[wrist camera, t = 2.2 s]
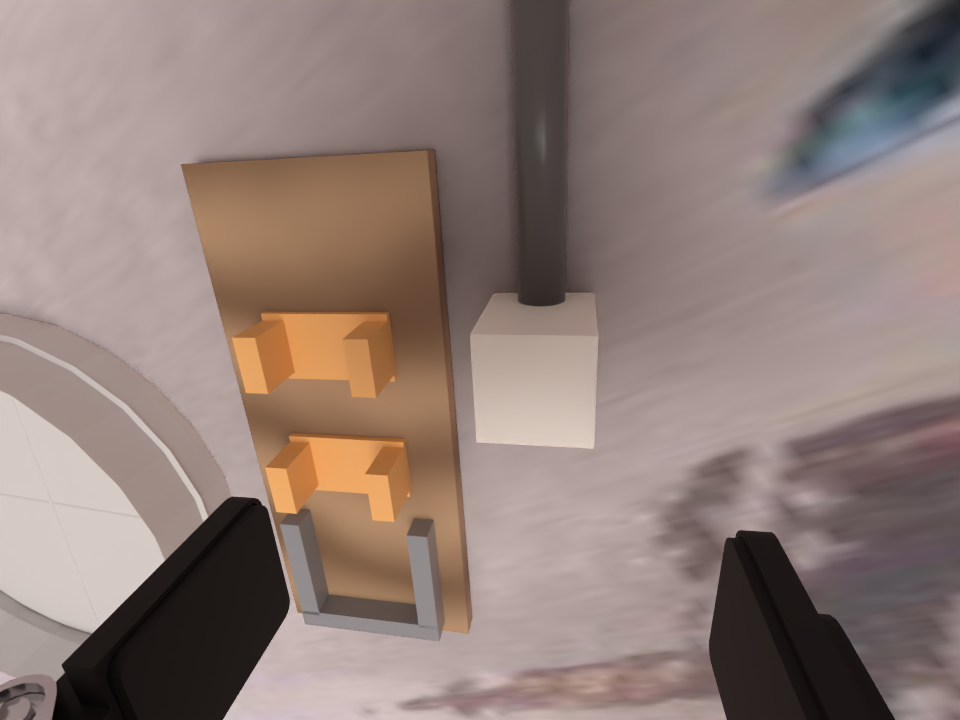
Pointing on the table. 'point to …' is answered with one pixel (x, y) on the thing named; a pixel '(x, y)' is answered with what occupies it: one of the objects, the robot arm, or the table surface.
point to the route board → (348, 288)
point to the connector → (538, 265)
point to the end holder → (361, 612)
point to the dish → (85, 490)
